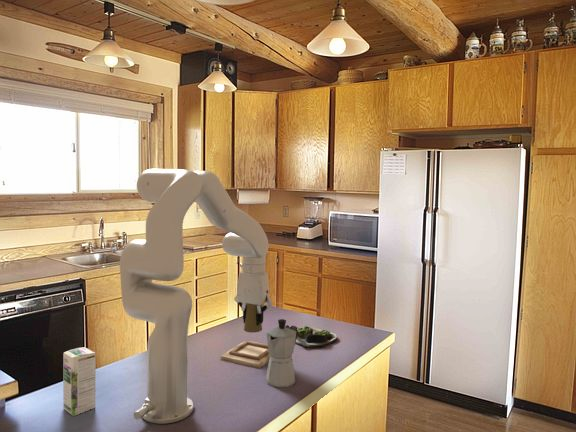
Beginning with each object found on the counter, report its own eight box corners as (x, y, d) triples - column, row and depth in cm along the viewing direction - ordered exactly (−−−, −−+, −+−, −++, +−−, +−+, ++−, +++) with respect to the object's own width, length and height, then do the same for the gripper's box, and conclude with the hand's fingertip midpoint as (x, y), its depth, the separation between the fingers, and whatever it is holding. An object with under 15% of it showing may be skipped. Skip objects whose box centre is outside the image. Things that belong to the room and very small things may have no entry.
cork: (259, 333, 145) (260, 299, 144) (241, 331, 146) (241, 298, 145) (264, 327, 151) (264, 294, 150) (246, 325, 152) (247, 293, 151)
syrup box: (62, 408, 112) (61, 352, 111) (85, 400, 116) (85, 345, 115) (73, 417, 108) (72, 358, 107) (96, 407, 113) (96, 351, 112)
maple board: (259, 368, 139) (259, 361, 139) (220, 359, 145) (220, 353, 144) (281, 350, 153) (281, 345, 153) (246, 343, 159) (246, 338, 159)
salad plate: (271, 338, 166) (272, 326, 166) (303, 327, 179) (303, 316, 179) (312, 353, 153) (312, 340, 152) (343, 340, 166) (343, 328, 165)
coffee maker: (281, 393, 123) (283, 329, 121) (255, 385, 127) (256, 322, 126) (308, 374, 136) (309, 315, 134) (283, 367, 140) (284, 310, 139)
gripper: (225, 267, 147) (225, 322, 148) (271, 273, 140) (270, 330, 141) (237, 263, 153) (237, 316, 155) (282, 268, 146) (280, 323, 148)
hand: (253, 322), depth 148 cm, fingers closed on cork, 4 cm apart
